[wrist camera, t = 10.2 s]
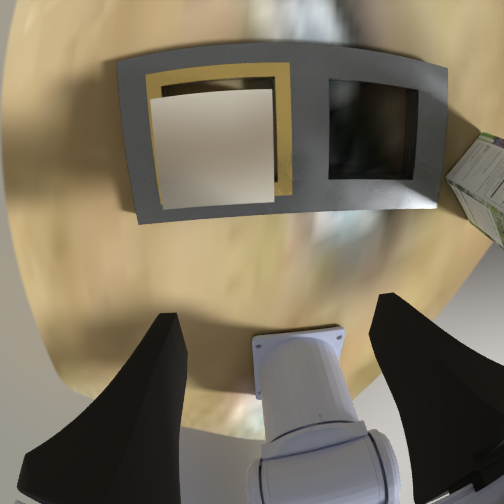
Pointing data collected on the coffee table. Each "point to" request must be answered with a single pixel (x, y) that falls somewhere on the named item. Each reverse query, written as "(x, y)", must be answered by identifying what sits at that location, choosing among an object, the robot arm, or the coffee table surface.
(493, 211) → the syrup box
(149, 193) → the rail
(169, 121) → the peg
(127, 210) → the coffee table surface
